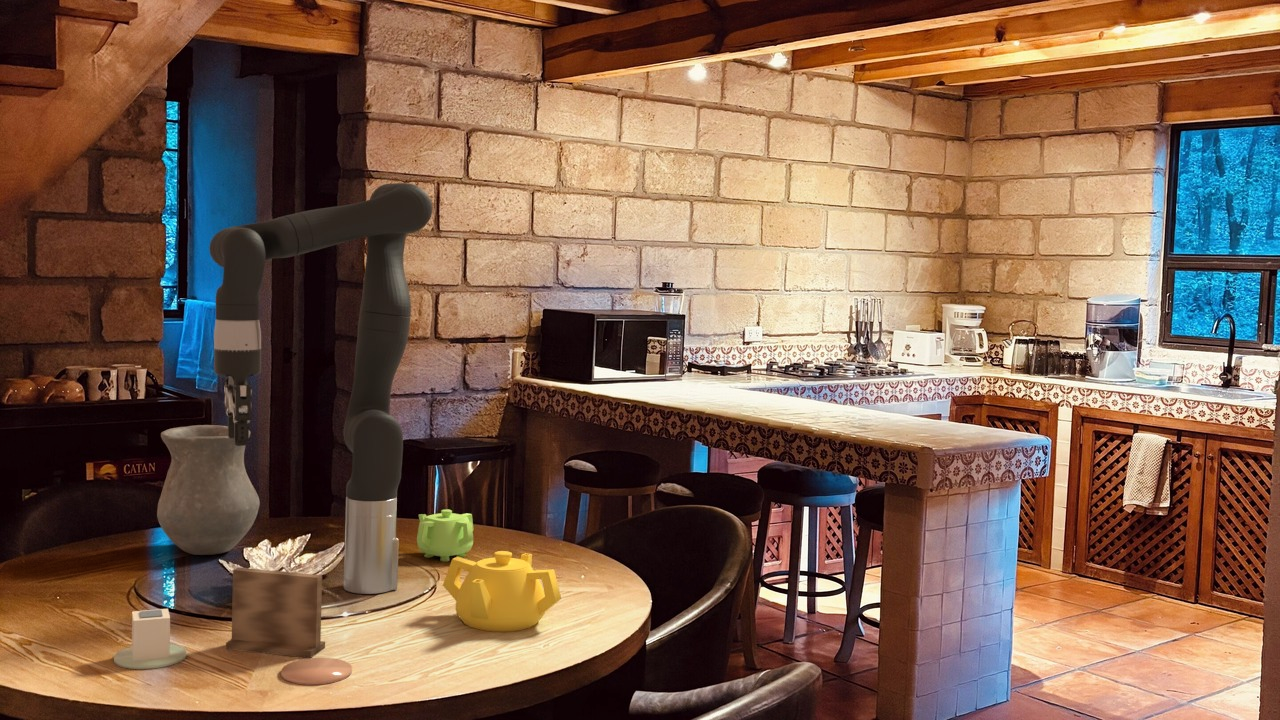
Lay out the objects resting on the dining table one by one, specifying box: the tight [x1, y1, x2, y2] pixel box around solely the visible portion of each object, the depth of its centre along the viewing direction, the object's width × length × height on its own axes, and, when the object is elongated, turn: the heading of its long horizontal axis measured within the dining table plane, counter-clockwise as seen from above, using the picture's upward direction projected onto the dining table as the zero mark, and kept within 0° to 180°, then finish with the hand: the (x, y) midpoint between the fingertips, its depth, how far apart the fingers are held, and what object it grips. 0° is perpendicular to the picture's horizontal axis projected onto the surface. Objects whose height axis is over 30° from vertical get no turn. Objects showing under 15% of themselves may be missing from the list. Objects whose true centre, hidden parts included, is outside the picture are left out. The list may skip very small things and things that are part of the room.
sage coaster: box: [113, 643, 187, 670], centre depth 176 cm, size 10×10×1 cm
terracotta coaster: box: [280, 657, 353, 686], centre depth 173 cm, size 10×10×1 cm
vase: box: [156, 424, 260, 556], centre depth 240 cm, size 20×19×25 cm
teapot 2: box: [442, 550, 562, 633], centre depth 202 cm, size 17×17×12 cm
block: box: [131, 608, 171, 661], centre depth 176 cm, size 5×5×6 cm
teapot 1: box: [416, 509, 474, 563], centre depth 245 cm, size 12×12×10 cm
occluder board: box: [225, 567, 326, 659], centre depth 183 cm, size 14×5×12 cm, turn 80°
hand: (238, 441), depth 200 cm, fingers open, 8 cm apart
